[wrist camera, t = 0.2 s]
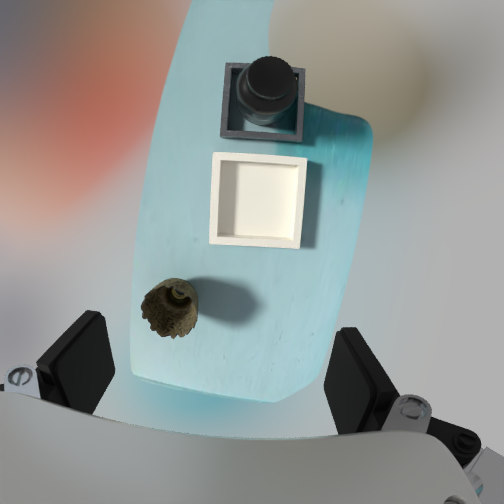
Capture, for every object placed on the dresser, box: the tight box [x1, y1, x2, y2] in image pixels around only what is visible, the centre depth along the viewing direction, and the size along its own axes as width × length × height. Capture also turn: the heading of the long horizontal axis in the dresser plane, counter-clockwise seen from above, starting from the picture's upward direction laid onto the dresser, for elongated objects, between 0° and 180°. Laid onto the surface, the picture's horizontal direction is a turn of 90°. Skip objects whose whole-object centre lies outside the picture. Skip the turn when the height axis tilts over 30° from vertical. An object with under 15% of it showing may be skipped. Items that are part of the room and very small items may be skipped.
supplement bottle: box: [236, 56, 298, 125], centre depth 30 cm, size 7×7×12 cm
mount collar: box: [220, 63, 305, 143], centre depth 35 cm, size 11×11×2 cm
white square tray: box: [209, 152, 307, 249], centre depth 38 cm, size 12×12×2 cm
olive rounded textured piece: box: [141, 278, 198, 339], centre depth 39 cm, size 8×7×8 cm
